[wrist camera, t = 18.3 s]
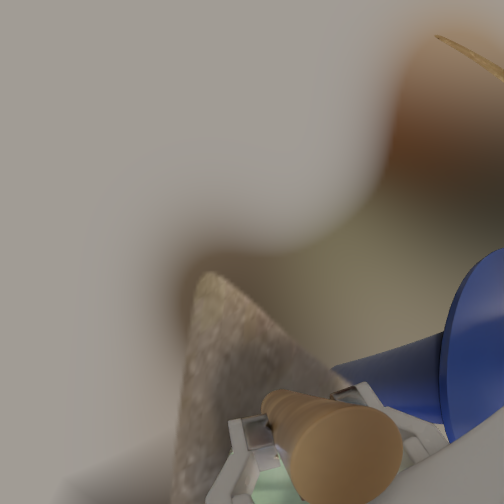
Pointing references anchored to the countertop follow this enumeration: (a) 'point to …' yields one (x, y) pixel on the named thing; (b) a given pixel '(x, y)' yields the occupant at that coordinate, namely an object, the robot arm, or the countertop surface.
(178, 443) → the countertop surface
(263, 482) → the bowl
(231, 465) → the robot arm
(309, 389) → the countertop surface
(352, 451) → the wooden cylinder
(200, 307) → the countertop surface
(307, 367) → the countertop surface
